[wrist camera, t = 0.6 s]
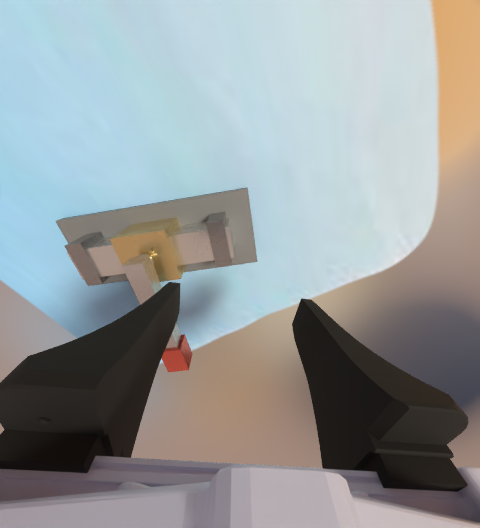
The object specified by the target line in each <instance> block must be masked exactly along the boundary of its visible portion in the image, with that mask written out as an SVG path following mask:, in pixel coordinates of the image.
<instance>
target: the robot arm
mask: <svg viewBox="0 0 480 528" xmlns="http://www.w3.org/2000/svg"><path fill="white" fill-rule="evenodd" d="M179 306H180V283H172V282H169V283H168V284H166V285H165V286H164V287H163V288H161V289H160V290H159V291H158V292H157V293H155V294H154V295H153V296H152V297H150V298H149V299H148V300H146V301H145V302H144V303H142V304H141V305H139V306H138V307H137V308H135V309H134V310H132V311H131V312H129V313H128V314H126V315H124V316H123V317H121V318H119V319H117V320H116V321H114V322H112V323H110V324H108V325H106V326H104V327H102V328H100V329H98V330H96V331H94V332H92V333H90V334H87V335H85V336H83V337H80V338H78V339H75V340H73V341H70V342H68V343H65V344H63V345H60V346H57V347H54V348H52V349H48V350H46V351H43V352H40V353H37V354H34V355H30V356H28V357H27V358H26V359H25V360H24V361H22V362H21V363H20V364H19V365H18V366H17V367H16V368H15V369H14V370H13V371H12V372H11V373H10V374H9V375H8V376H7V377H6V378H5V379H4V380H3V381H2V382H1V383H0V423H1V424H2V426H3V428H4V429H5V430H4V431H3V432H2V433H1V434H0V528H480V467H468V466H467V467H460V468H456V467H455V466H454V464H453V463H452V461H451V460H450V458H453V457H454V456H453V453H452V452H451V450H450V449H449V447H448V446H447V444H448V443H449V442H451V440H453V439H454V438H456V437H457V436H458V435H459V434H461V433H462V432H463V431H464V430H465V429H466V427H467V425H468V417H467V415H466V414H465V413H464V412H463V411H462V410H461V409H460V407H459V406H458V405H457V404H456V403H455V401H454V400H453V399H452V398H451V397H450V396H449V395H448V394H446V393H444V392H442V391H440V390H438V389H436V388H434V387H432V386H430V385H428V384H426V383H424V382H422V381H420V380H418V379H416V378H414V377H413V376H411V375H409V374H408V373H406V372H404V371H402V370H400V369H399V368H397V367H396V366H394V365H392V364H391V363H389V362H387V361H386V360H384V359H383V358H381V357H380V356H378V355H377V354H375V353H374V352H372V351H371V350H369V349H368V348H367V347H365V346H364V345H363V344H361V343H360V342H358V341H357V340H356V339H355V338H353V337H352V336H351V335H350V334H349V333H347V332H346V331H345V330H344V329H343V328H342V327H340V326H339V325H338V324H337V323H336V322H335V321H334V320H333V319H332V318H331V317H330V316H328V315H327V314H326V313H325V312H324V311H323V310H322V309H321V308H320V307H319V306H318V305H317V304H316V303H314V302H313V301H312V300H309V299H301V301H300V304H299V307H298V310H297V312H296V315H295V318H294V321H293V323H292V326H293V333H294V338H295V342H296V345H297V348H298V352H299V355H300V358H301V361H302V364H303V367H304V370H305V374H306V377H307V380H308V384H309V389H310V394H311V398H312V403H313V409H314V414H315V419H316V424H317V431H318V438H319V444H320V451H321V459H322V466H323V468H308V467H291V466H272V465H255V464H231V463H213V462H194V461H178V460H161V459H142V458H131V454H132V451H133V447H134V444H135V440H136V436H137V433H138V429H139V426H140V422H141V419H142V415H143V412H144V409H145V406H146V402H147V399H148V396H149V392H150V389H151V386H152V383H153V380H154V377H155V374H156V370H157V368H158V365H159V363H160V360H161V358H162V356H163V353H164V351H165V349H166V346H167V344H168V342H169V339H170V337H171V335H172V332H173V330H174V328H175V325H176V321H177V318H178V314H179Z"/></svg>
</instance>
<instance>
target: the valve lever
mask: <svg viewBox="0 0 480 528" xmlns="http://www.w3.org/2000/svg"><path fill="white" fill-rule="evenodd" d="M154 265H155V259H154V258H153V256H152V255H150V254H148V253H141V254H140V255H139V256H138V257H132V258H130V259H129V260H128V261H127V262H126V263H125V264H124V265H123V266H122V267H123V270H124V272H125V274H126V276H127V278H128V280H129V282H130V284H131V286H132V288H133V290H134V293H135V295H136V297H137V299H138V301H139V303H140V305H141V304H142V303H144V302H145V301H146V300H148V299H149V298H150V297H152V296H153V295H154V294H155V293H157V292H158V291H159V290H160V289H161V288H162V285H161V283H160V280H159V278H158V275H157V273H156V270H155V268H154ZM191 357H192V352H191V349H190V347H189V344H188V342H187V339H186V336H185V335H181V333H180V331H179V328H178V326H177V323H176V325H175V328H174V330H173V332H172V335H171V337H170V339H169V342H168V344H167V346H166V349H165V351H164V353H163V356H162V360H163V362H164V364H165V366H166V368H167V370H168V372H175V371H183V370H189V366H190V362H191Z"/></svg>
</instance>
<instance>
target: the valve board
mask: <svg viewBox="0 0 480 528" xmlns="http://www.w3.org/2000/svg"><path fill="white" fill-rule="evenodd" d="M219 212H225V213H226V218H229V217H230V222H231V228H232V233H233V239H234V244H235V250H234V258H232V265H238V264H245V263H251V262H257V256H256V248H255V241H254V233H253V226H252V218H251V211H250V203H249V196H248V189H247V188H242V189H236V190H230V191H224V192H218V193H212V194H206V195H200V196H194V197H188V198H182V199H176V200H170V201H164V202H158V203H152V204H146V205H140V206H134V207H128V208H122V209H116V210H110V211H104V212H98V213H92V214H86V215H80V216H74V217H68V218H63V219H60V220H58V221H56V223H57V225H58V226H59V228H60V230H61V232H62V233H63V235H64V237H65V238H66V240H67V242H68V244H69V243H71V242H73V241H75V240H77V239H78V238H80V237H82V236H84V235H86V234H89V233H95V232H102V234H103V236H104V237H110V236H115V235H116V234H118V233H119V232H121V231H122V230H124V229H125V228H127V227H128V226H130V225H131V224H137V223H144V222H150V221H156V220H162V219H168V218H174V217H177V219H178V222H179V225H185V224H191V223H198V222H204V221H207V220H208V218H209V216H210V214H213V213H219ZM228 266H231V265H228ZM221 267H224V266H221ZM210 268H217V267H216V264H215V260H213V261H206V262H200V263H193V264H187V266H186V268H185V270H184V272H189V271H196V270H203V269H210ZM127 280H128V278H127V276H126V274H125V273H124V274H118V275H111V276H110V277H109V278H108V279H107V280H106V281H105V282H104V283H103V284H106V283H113V282H120V281H127ZM97 285H99V284H97Z"/></svg>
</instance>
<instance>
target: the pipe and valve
mask: <svg viewBox="0 0 480 528" xmlns="http://www.w3.org/2000/svg"><path fill="white" fill-rule="evenodd" d="M65 248H66V249H67V251H68V252H67V253H68V255H69V257H70V258H71V260H72V262H73V263H74V265H75V267H76V268H77V270H78V272H79V273H80V275H81V277H82V278H83V280H85V281H86V283H87V285H88V286H90V285H97V284H103V283H104V282H105V281H106V280H107V279H108V278H109V277H110V276H111V275H118V274H124V273H125V272H124V270H123V267H122V266H123V265H124V264H125V263H126V262H127V261H128V260H129V259H130V258H132V257H138V256H139V255H140V254H141V253H148V254H150V255H152V256H153V258H154V259H155V265H154V268H155V270H156V273H157V275H158V278H159V280H160V282H162V281H169V280H176V279H181V277H182V275H183V273H184V270H185V268H186V266H187V264H193V263H200V262H206V261H213V260H215V264H216V267H221V266H228V265H232V258H234V250H235V244H234V239H233V233H232V228H231V222H230V217H229V218H226V213H225V212H219V213H213V214H210V216H209V218H208V220H207V221H204V222H198V223H191V224H185V225H179V222H178V219H177V217H174V218H168V219H162V220H156V221H150V222H144V223H137V224H131V225H130V226H128V227H127V228H125V229H124V230H122V231H121V232H119V233H118V234H116V235H115V236H110V237H104V236H103V234H102V232H95V233H89V234H86V235H84V236H82V237H80V238H78V239H77V240H75V241H73V242H71V243H69V244H67V245H65Z"/></svg>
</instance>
